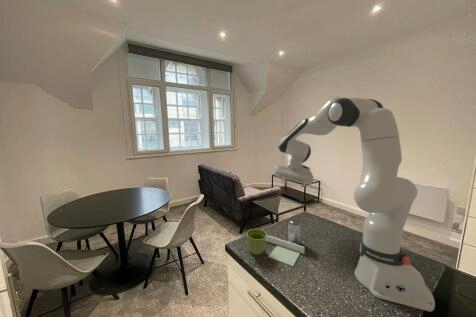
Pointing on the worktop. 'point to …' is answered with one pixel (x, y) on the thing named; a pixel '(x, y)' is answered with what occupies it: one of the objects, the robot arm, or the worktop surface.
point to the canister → (294, 231)
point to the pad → (284, 255)
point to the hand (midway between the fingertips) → (293, 183)
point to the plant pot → (256, 240)
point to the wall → (285, 244)
